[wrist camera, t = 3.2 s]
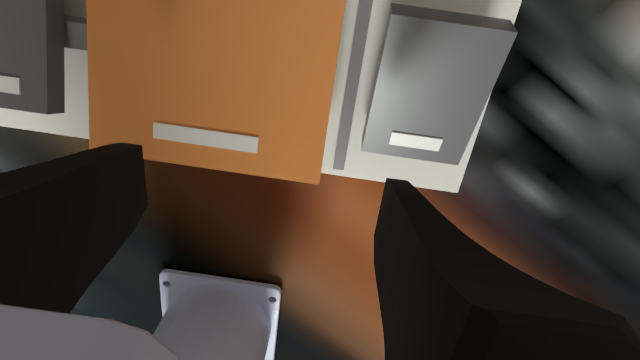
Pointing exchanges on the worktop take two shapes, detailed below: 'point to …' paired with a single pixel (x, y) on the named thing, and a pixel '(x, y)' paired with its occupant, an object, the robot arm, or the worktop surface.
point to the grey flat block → (433, 81)
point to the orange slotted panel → (215, 81)
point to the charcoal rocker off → (32, 56)
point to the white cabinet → (346, 105)
